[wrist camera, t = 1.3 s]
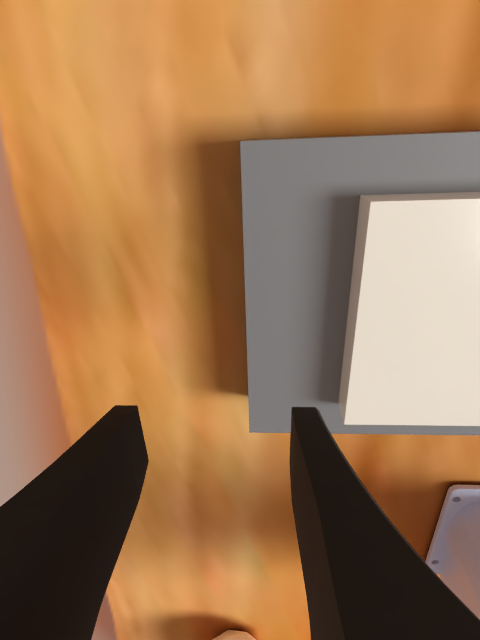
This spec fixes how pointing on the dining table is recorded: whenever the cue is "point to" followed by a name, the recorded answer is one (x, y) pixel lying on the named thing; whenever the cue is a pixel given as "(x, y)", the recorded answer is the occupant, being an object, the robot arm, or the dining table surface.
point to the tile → (414, 312)
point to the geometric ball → (234, 635)
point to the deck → (324, 257)
